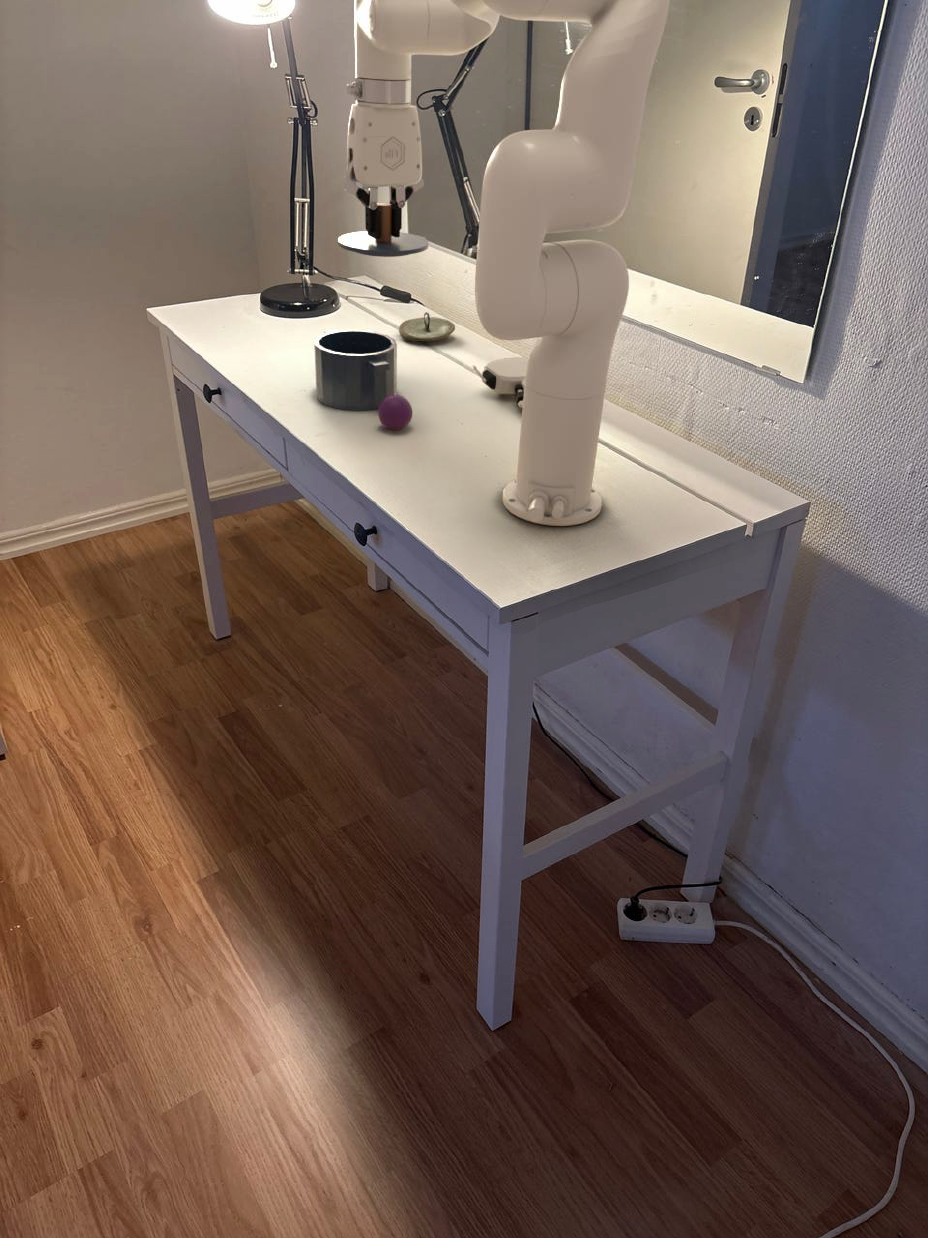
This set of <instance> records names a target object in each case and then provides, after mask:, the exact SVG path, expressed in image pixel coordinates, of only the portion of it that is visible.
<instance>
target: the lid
mask: <svg viewBox="0 0 928 1238" xmlns="http://www.w3.org/2000/svg"><path fill="white" fill-rule="evenodd" d="M455 329H456V325H455V324H454V323H453V322H452V321H450V320H448V319H444V318H440V317H434V316H433V317H432V316H431V315H430V313H429V312H427V311H426V312H425V313H424V315H423V317H417V318H412V319H407V320H405V321H403V322H402V323H401V324H400V325H399V327H398V333H399V335H400V336H401V337H402V338H404V339H407V340H410V341H411V340H412V341H417V342H432V341H438V340H441V339H445V338H446V337H448V336H451V334H453V333H454V332H455V331H456V330H455Z"/></svg>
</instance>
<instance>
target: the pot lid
mask: <svg viewBox="0 0 928 1238" xmlns="http://www.w3.org/2000/svg"><path fill="white" fill-rule="evenodd" d="M377 205H378V209H379V210H380V211H381V238H380V239H375V238H373V237H371V236H369V235H368V231H367V230H362V231H355V232H354V231H353V232H349V233H345V234H342V235H341V236H339V237H338V238H337V245H338V247H340V248H341V249H343V250H346V251H349V252H353V253H357V254H360V255H363V256H371V257H377V258H378V257H379V258H380V257H381V258H395V257H404V256H405V257H406V256H409V255H414V254H419V253H422V252H425V251H426V250H428V249H429V245H430V243H429V240H428V239H427V238H424V237H422V236H420V235H416V234H414V233H413V234H412V233H408V232H401V231H400V237H394V236H392V205H391V204H390V202H377Z"/></svg>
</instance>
